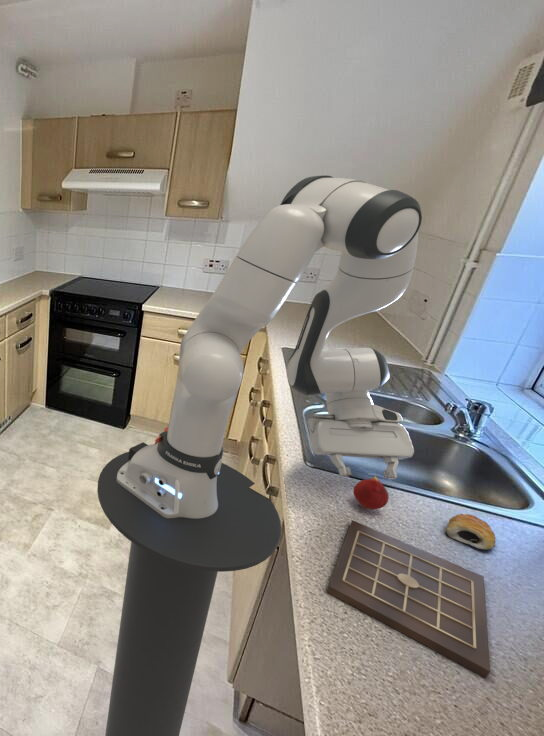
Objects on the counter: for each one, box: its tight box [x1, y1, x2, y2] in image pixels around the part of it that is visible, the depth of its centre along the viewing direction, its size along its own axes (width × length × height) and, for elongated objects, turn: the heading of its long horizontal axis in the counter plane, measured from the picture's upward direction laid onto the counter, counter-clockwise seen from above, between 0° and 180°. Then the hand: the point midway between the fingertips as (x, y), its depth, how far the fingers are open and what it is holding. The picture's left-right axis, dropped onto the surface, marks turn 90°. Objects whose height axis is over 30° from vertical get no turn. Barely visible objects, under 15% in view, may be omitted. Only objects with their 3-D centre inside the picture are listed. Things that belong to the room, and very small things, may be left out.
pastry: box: [445, 513, 497, 551], centre depth 83 cm, size 9×7×4 cm
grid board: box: [326, 519, 491, 679], centre depth 71 cm, size 19×22×2 cm
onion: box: [353, 475, 390, 510], centre depth 89 cm, size 6×6×8 cm
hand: (368, 477), depth 90 cm, fingers open, 8 cm apart
